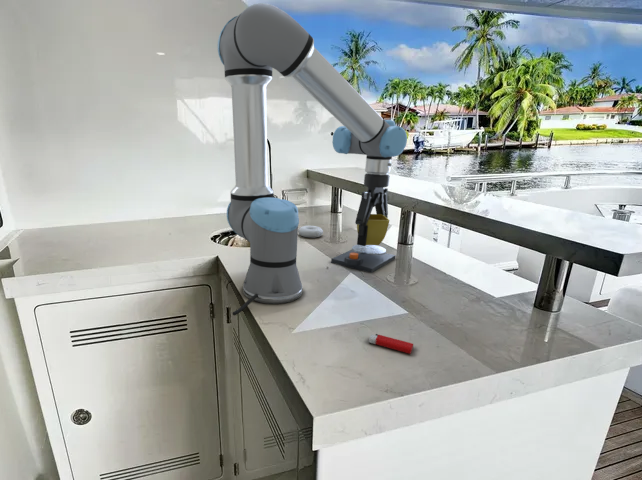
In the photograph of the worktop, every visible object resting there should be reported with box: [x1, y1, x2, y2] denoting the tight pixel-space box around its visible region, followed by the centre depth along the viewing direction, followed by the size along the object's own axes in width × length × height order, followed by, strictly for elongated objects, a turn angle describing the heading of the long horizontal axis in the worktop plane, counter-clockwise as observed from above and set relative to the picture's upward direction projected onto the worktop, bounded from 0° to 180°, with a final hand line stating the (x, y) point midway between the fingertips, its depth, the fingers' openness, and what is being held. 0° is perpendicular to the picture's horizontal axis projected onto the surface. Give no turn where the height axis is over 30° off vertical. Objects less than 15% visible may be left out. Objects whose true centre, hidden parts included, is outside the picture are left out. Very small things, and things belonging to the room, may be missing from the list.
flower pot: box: [356, 213, 390, 246], centre depth 123 cm, size 9×9×9 cm
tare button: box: [349, 253, 358, 259], centre depth 118 cm, size 3×3×2 cm
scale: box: [330, 249, 397, 274], centre depth 123 cm, size 19×14×3 cm
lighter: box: [368, 333, 414, 355], centre depth 74 cm, size 3×1×8 cm
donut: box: [298, 225, 324, 239], centre depth 153 cm, size 10×4×10 cm
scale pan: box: [351, 244, 387, 255], centre depth 125 cm, size 11×11×1 cm
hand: (369, 241), depth 124 cm, fingers closed on flower pot, 11 cm apart
